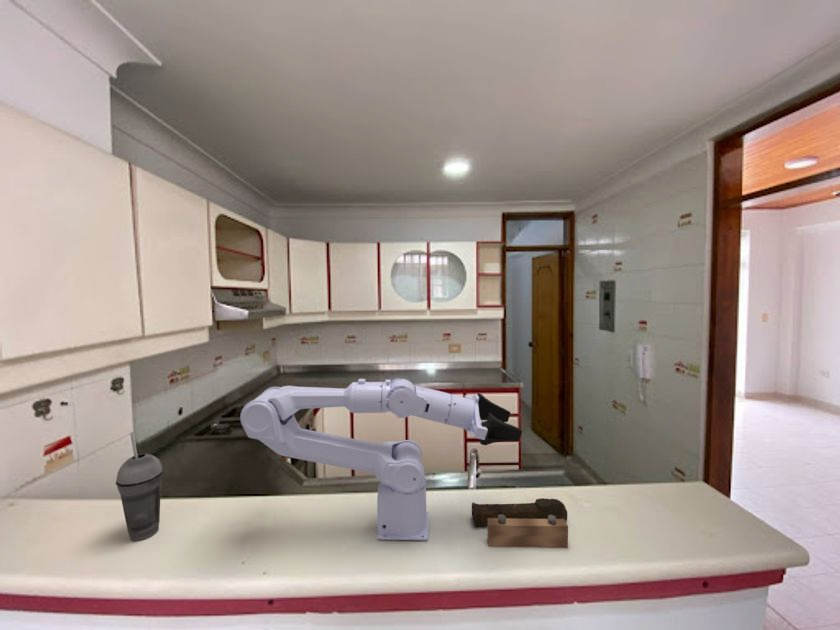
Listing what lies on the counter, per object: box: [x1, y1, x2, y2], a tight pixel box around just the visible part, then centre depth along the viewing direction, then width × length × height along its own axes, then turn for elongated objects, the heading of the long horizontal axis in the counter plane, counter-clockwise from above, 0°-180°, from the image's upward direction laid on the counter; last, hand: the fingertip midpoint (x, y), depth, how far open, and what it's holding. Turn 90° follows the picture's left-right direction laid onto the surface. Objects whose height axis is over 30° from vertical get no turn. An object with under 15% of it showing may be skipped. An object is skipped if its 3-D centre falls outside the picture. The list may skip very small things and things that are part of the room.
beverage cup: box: [115, 432, 164, 542], centre depth 69 cm, size 7×7×20 cm
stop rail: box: [486, 514, 569, 549], centre depth 65 cm, size 14×2×5 cm, turn 88°
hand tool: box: [471, 498, 568, 527], centre depth 71 cm, size 19×4×5 cm, turn 88°
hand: (514, 425), depth 70 cm, fingers open, 7 cm apart
